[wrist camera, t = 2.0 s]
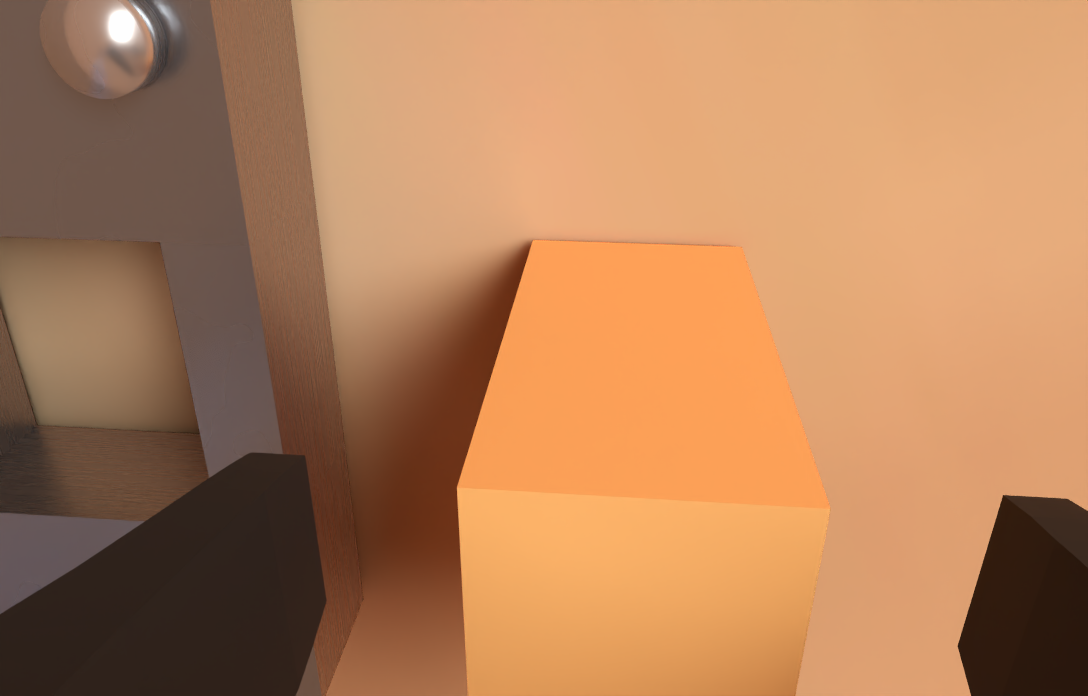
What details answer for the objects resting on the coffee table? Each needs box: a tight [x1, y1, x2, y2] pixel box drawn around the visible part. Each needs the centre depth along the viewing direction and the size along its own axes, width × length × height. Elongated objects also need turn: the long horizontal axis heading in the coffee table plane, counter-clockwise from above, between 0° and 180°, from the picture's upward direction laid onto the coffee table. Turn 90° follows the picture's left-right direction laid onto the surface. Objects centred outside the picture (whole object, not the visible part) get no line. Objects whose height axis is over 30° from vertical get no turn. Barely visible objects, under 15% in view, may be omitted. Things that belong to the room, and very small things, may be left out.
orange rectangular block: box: [457, 240, 831, 696], centre depth 11 cm, size 3×3×6 cm
